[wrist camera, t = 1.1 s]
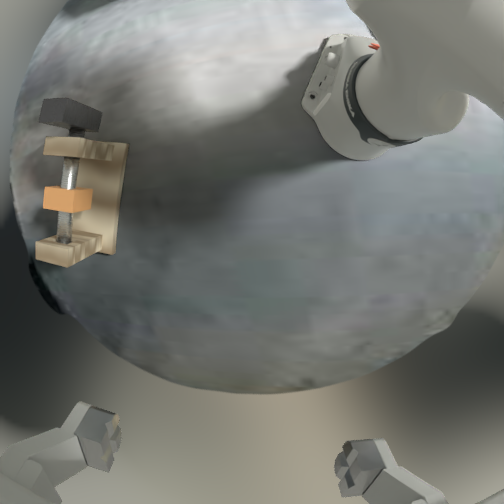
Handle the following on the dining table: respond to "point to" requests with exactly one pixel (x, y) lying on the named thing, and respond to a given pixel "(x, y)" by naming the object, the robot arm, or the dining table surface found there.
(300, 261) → the dining table surface
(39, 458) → the robot arm
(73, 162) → the shaft
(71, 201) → the spacer
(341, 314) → the dining table surface
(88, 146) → the shaft stand
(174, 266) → the dining table surface
